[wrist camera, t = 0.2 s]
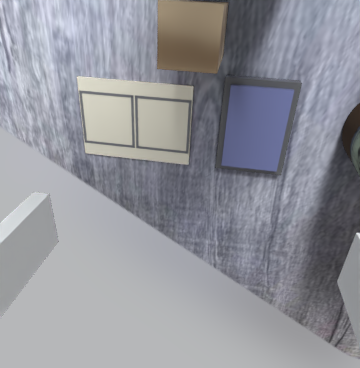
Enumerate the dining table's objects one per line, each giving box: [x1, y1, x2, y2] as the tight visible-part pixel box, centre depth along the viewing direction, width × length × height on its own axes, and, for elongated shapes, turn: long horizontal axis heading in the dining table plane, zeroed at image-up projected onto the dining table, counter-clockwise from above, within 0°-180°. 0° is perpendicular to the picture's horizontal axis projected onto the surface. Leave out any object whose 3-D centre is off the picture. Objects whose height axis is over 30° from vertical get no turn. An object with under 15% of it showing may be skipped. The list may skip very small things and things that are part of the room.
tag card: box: [77, 76, 194, 165], centre depth 40 cm, size 10×14×1 cm
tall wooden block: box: [157, 0, 229, 74], centre depth 30 cm, size 5×5×10 cm
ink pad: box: [215, 75, 302, 175], centre depth 38 cm, size 11×8×2 cm
